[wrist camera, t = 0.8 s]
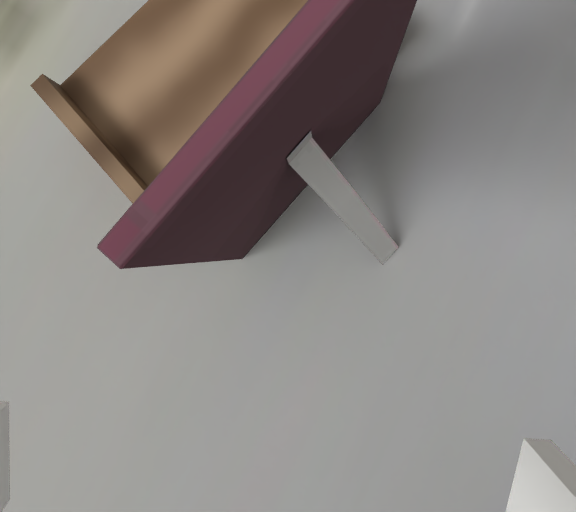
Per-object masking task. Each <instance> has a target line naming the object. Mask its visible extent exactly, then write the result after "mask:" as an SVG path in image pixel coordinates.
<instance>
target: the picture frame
mask: <svg viewBox="0 0 576 512" xmlns="http://www.w3.org/2000/svg"><path fill="white" fill-rule="evenodd" d="M416 1H417V0H308V1H307V2H306V3H305V5H304V6H303V7H302V8H301V9H300V10H299V11H298V13H297V14H296V15H295V16H294V17H293V18H292V20H291V21H290V22H289V23H288V24H287V25H286V27H285V28H284V29H283V30H282V31H281V32H280V34H279V35H278V36H277V37H276V38H275V39H274V41H273V42H272V43H271V44H270V45H269V46H268V47H267V49H266V50H265V51H264V52H263V53H262V54H261V56H260V57H259V58H258V59H257V60H256V61H255V63H254V64H253V65H252V66H251V67H250V68H249V70H248V71H247V72H246V73H245V74H244V75H243V77H242V78H241V79H240V80H239V81H238V82H237V84H236V85H235V86H234V87H233V88H232V89H231V90H230V92H229V93H228V94H227V95H226V96H225V97H224V99H223V100H222V101H221V102H220V103H219V104H218V106H217V107H216V108H215V109H214V110H213V111H212V113H211V114H210V115H209V116H208V117H207V118H206V120H205V121H204V122H203V123H202V124H201V125H200V127H199V128H198V129H197V130H196V131H195V132H194V133H193V135H192V136H191V137H190V138H189V139H188V140H187V142H186V143H185V144H184V145H183V146H182V147H181V149H180V150H179V151H178V152H177V153H176V154H175V156H174V157H173V158H172V159H171V160H170V161H169V163H168V164H167V165H166V166H165V167H164V168H163V170H162V171H161V172H160V173H159V174H158V175H157V176H156V178H155V179H154V180H153V181H152V182H151V183H150V185H149V186H148V187H147V188H146V189H145V190H144V192H143V193H142V194H141V195H140V196H139V197H138V199H137V200H136V201H135V202H134V203H133V204H132V206H131V207H130V208H129V209H128V210H127V211H126V213H125V214H124V215H123V216H122V217H121V218H120V219H119V221H118V222H117V223H116V224H115V225H114V226H113V228H112V229H111V230H110V231H109V232H108V233H107V235H106V236H105V237H104V238H103V239H102V240H101V242H100V243H99V244H98V247H97V248H98V249H99V250H100V251H101V252H102V253H103V254H104V255H105V256H106V257H108V258H109V259H110V260H111V261H112V262H113V263H114V264H115V265H116V266H117V267H119V268H120V269H124V268H136V267H148V266H161V265H173V264H185V263H197V262H210V261H222V260H234V259H242V258H243V257H244V256H245V255H246V254H247V253H248V252H249V251H250V249H251V248H252V247H253V246H254V245H255V244H256V243H257V241H258V240H259V239H260V238H261V237H262V236H263V235H264V234H265V232H266V231H267V230H268V229H269V228H270V227H271V226H272V224H273V223H274V222H275V221H276V220H277V219H278V218H279V217H280V215H281V214H282V213H283V212H284V211H285V210H286V209H287V207H288V206H289V205H290V204H291V203H292V202H293V201H294V200H295V198H296V197H297V196H298V195H299V194H300V193H301V192H302V190H303V189H304V188H305V187H306V186H307V185H309V186H310V187H311V188H312V189H313V190H314V191H315V192H316V193H317V194H318V195H319V196H320V197H321V199H322V200H323V201H324V202H325V203H326V204H327V205H328V206H329V207H330V208H331V209H332V210H333V211H334V212H335V213H336V214H337V216H338V217H339V218H340V219H341V220H342V221H343V222H344V223H345V224H346V225H347V226H348V228H349V229H350V230H351V231H352V232H353V233H354V234H355V235H356V236H357V237H358V239H359V240H360V241H361V242H362V243H363V244H364V245H365V246H366V247H367V248H368V249H369V251H370V252H371V253H372V254H373V255H374V256H375V257H376V258H377V259H378V260H379V261H380V263H381V264H382V265H383V264H384V263H385V262H386V261H387V260H388V258H389V257H390V256H391V255H392V254H393V253H394V252H395V251H396V250H397V248H398V246H397V244H396V243H395V242H394V240H393V239H392V238H391V237H390V235H389V234H388V233H387V231H386V230H385V229H384V227H383V226H382V225H381V224H380V222H379V221H378V220H377V218H376V217H375V216H374V214H373V213H372V212H371V210H370V209H369V208H368V207H367V205H366V204H365V203H364V201H363V200H362V199H361V197H360V196H359V195H358V194H357V192H356V191H355V190H354V189H353V187H352V186H351V185H350V184H349V182H348V181H347V180H346V179H345V177H344V176H343V175H342V174H341V173H340V171H339V170H338V169H337V168H336V166H335V165H334V164H333V163H332V161H331V160H330V159H331V158H332V156H333V155H334V154H335V153H336V152H337V151H338V150H339V149H340V147H341V146H342V145H343V144H344V143H345V142H346V141H347V139H348V138H349V137H350V136H351V135H352V134H353V133H354V132H355V130H356V129H357V128H358V127H359V126H360V125H361V124H362V122H363V121H364V120H365V119H366V118H367V117H368V116H369V115H370V113H371V112H372V111H373V110H374V109H375V108H376V107H377V105H378V104H379V103H380V101H381V98H382V96H383V93H384V90H385V87H386V84H387V82H388V79H389V76H390V73H391V71H392V68H393V65H394V62H395V60H396V57H397V54H398V51H399V48H400V46H401V43H402V40H403V37H404V35H405V32H406V29H407V26H408V24H409V21H410V18H411V15H412V13H413V10H414V7H415V4H416Z"/></svg>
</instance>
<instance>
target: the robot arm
mask: <svg viewBox="0 0 576 512" xmlns="http://www.w3.org/2000/svg"><path fill="white" fill-rule="evenodd" d="M9 500H10V467H9V402H4V401H0V512H2V511H3V509H4V508H5V506H6V504H7V503H8V501H9ZM506 512H576V466H575V465H574V464H573V462H572V461H571V460H570V459H569V458H568V457H567V456H566V455H565V454H564V453H563V452H562V451H561V450H560V449H559V448H558V447H557V446H556V445H555V444H554V443H553V441H552V440H542V439H528V438H524V440H523V444H522V448H521V452H520V456H519V460H518V464H517V468H516V472H515V476H514V480H513V484H512V488H511V492H510V496H509V500H508V504H507V508H506Z"/></svg>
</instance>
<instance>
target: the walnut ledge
mask: <svg viewBox="0 0 576 512" xmlns="http://www.w3.org/2000/svg"><path fill="white" fill-rule="evenodd" d="M307 1H308V0H149V1H148V2H146V3H145V4H144V5H143V6H142V7H141V8H140V9H139V10H138V11H137V12H136V13H135V14H134V15H133V16H132V17H131V18H130V19H129V20H128V21H127V22H126V23H125V24H124V25H123V26H122V27H120V28H119V29H118V30H117V31H116V32H115V33H114V34H113V35H112V36H111V37H110V38H109V39H108V40H107V41H106V42H105V43H104V44H103V45H102V46H101V47H100V48H99V49H98V50H97V51H96V52H94V53H93V54H92V55H91V56H90V57H89V58H88V59H87V60H86V61H85V62H84V63H83V64H82V65H81V66H80V67H79V68H78V69H77V70H76V71H75V72H74V73H73V74H72V75H71V76H70V77H69V78H67V79H66V80H65V81H64V82H63V83H62V84H61V85H59V84H57V83H56V82H54V81H53V80H51V79H49V78H48V77H46V76H45V75H43V74H42V75H41V76H40V77H39V78H38V79H37V80H36V81H35V82H34V83H32V84H31V85H30V86H31V87H32V88H33V89H34V90H35V91H36V92H37V94H38V95H39V96H40V97H41V98H42V99H43V101H44V102H45V103H46V104H47V105H48V106H49V107H50V109H51V110H52V111H53V112H54V113H55V114H56V116H57V117H58V118H59V119H60V120H61V121H62V122H63V124H64V125H65V126H66V127H67V128H68V129H69V131H70V132H71V133H72V134H73V135H74V136H75V137H76V139H77V140H78V141H79V142H80V143H81V144H82V146H83V147H84V148H85V149H86V150H87V151H88V152H89V154H90V155H91V156H92V157H93V158H94V159H95V161H96V162H97V163H98V164H99V165H100V166H101V167H102V169H103V170H104V171H105V172H106V173H107V174H108V176H109V177H110V178H111V179H112V180H113V181H114V182H115V184H116V185H117V186H118V187H119V188H120V189H121V191H122V192H123V193H124V194H125V195H126V196H127V197H128V199H129V200H130V201H131V202H132V203H134V202H135V201H136V200H137V199H138V197H139V196H140V195H141V194H142V193H143V192H144V190H145V189H146V188H147V187H148V186H149V185H150V183H151V182H152V181H153V180H154V179H155V178H156V176H157V175H158V174H159V173H160V172H161V171H162V170H163V168H164V167H165V166H166V165H167V164H168V163H169V161H170V160H171V159H172V158H173V157H174V156H175V154H176V153H177V152H178V151H179V150H180V149H181V147H182V146H183V145H184V144H185V143H186V142H187V140H188V139H189V138H190V137H191V136H192V135H193V133H194V132H195V131H196V130H197V129H198V128H199V127H200V125H201V124H202V123H203V122H204V121H205V120H206V118H207V117H208V116H209V115H210V114H211V113H212V111H213V110H214V109H215V108H216V107H217V106H218V104H219V103H220V102H221V101H222V100H223V99H224V97H225V96H226V95H227V94H228V93H229V92H230V90H231V89H232V88H233V87H234V86H235V85H236V84H237V82H238V81H239V80H240V79H241V78H242V77H243V75H244V74H245V73H246V72H247V71H248V70H249V68H250V67H251V66H252V65H253V64H254V63H255V61H256V60H257V59H258V58H259V57H260V56H261V54H262V53H263V52H264V51H265V50H266V49H267V47H268V46H269V45H270V44H271V43H272V42H273V41H274V39H275V38H276V37H277V36H278V35H279V34H280V32H281V31H282V30H283V29H284V28H285V27H286V25H287V24H288V23H289V22H290V21H291V20H292V18H293V17H294V16H295V15H296V14H297V13H298V11H299V10H300V9H301V8H302V7H303V6H304V5H305V3H306V2H307Z"/></svg>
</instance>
